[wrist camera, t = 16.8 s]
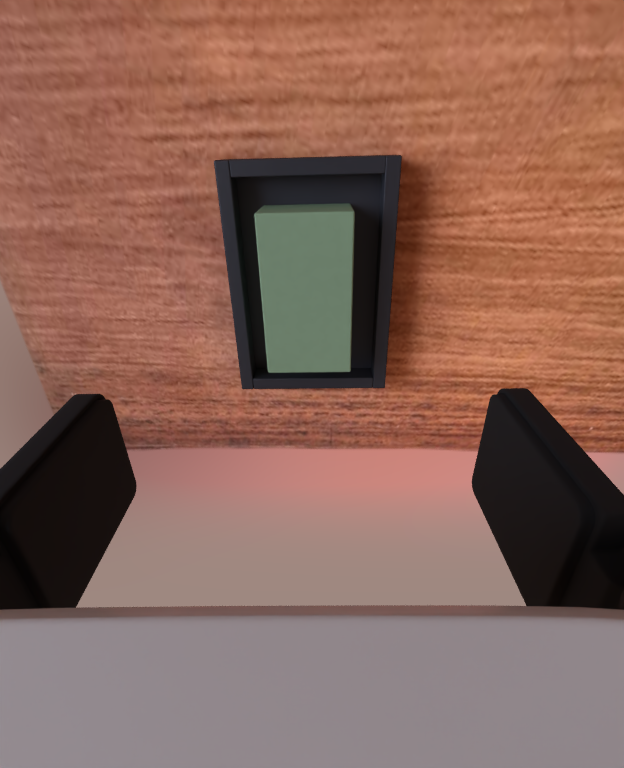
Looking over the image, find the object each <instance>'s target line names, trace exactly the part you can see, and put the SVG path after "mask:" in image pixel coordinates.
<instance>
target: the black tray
mask: <svg viewBox="0 0 624 768" xmlns="http://www.w3.org/2000/svg"><path fill="white" fill-rule="evenodd" d="M401 160H402V156H401V155H375V156H338V157H301V158H263V159H226V160H215V161H214V166H215V174H216V182H217V190H218V198H219V206H220V214H221V222H222V230H223V238H224V247H225V255H226V263H227V271H228V279H229V287H230V295H231V303H232V311H233V319H234V327H235V335H236V343H237V351H238V359H239V367H240V375H241V383H242V389H253V388H254V389H299V388H372V387H373V388H385V378H386V364H387V351H388V337H389V323H390V310H391V296H392V282H393V269H394V255H395V242H396V228H397V214H398V201H399V187H400V173H401ZM342 203H350V204H351V206H352V208H353V210H354V212H355V222H354V261H353V300H352V339H351V371H350V372H291V373H269V372H268V367H267V356H266V344H265V333H264V321H263V310H262V298H261V287H260V275H259V263H258V252H257V240H256V229H255V217H254V214H255V213H256V212H257V211H258V210H259V209H260V208H261V207H262V206H264V205H298V204H342Z"/></svg>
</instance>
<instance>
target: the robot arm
mask: <svg viewBox="0 0 624 768" xmlns="http://www.w3.org/2000/svg"><path fill="white" fill-rule="evenodd" d="M472 488H473V492H474V494H475V496H476V499H477V500H478V503H479V505H480V507H481V509H482V511H483V514H484V516H485V518H486V520H487V522H488V524H489V526H490V529H491V531H492V533H493V535H494V537H495V539H496V541H497V543H498V546H499V548H500V550H501V552H502V554H503V556H504V558H505V560H506V563H507V565H508V567H509V569H510V571H511V573H512V576H513V578H514V580H515V582H516V584H517V586H518V588H519V591H520V593H521V595H522V597H523V599H524V601H525V603H526V606H203V607H202V606H200V607H199V606H196V607H195V606H193V607H192V606H191V607H105V608H104V607H103V608H102V607H99V608H76V606H77V604H78V602H79V600H80V598H81V597H82V595H83V593H84V591H85V589H86V587H87V585H88V583H89V581H90V579H91V578H92V576H93V574H94V572H95V570H96V568H97V566H98V564H99V562H100V560H101V559H102V557H103V555H104V553H105V551H106V549H107V547H108V545H109V543H110V541H111V540H112V538H113V536H114V534H115V532H116V530H117V528H118V526H119V524H120V523H121V521H122V519H123V517H124V515H125V513H126V511H127V509H128V507H129V505H130V504H131V502H132V500H133V498H134V496H135V492H136V480H135V477H134V474H133V470H132V467H131V464H130V460H129V457H128V454H127V450H126V447H125V444H124V440H123V437H122V434H121V430H120V427H119V424H118V421H117V417H116V414H115V411H114V407H113V404H112V402H111V401H110V400H106V399H105V398H104V396H103V395H101V394H77V395H74V396H73V397H72V398H71V399H70V400H69V401H68V402H67V403H66V404H65V405H64V406H63V407H62V408H61V409H60V410H59V411H58V412H57V413H56V414H55V415H54V416H53V417H52V418H51V419H50V420H49V421H48V422H47V423H46V424H45V425H44V426H43V427H42V428H41V429H40V430H39V431H38V432H37V433H36V434H35V435H34V436H33V437H32V438H31V439H30V440H29V441H28V442H27V443H26V444H25V445H24V446H23V447H22V448H21V449H20V450H19V451H18V452H17V453H16V454H15V455H14V456H13V457H12V458H11V459H10V460H9V461H8V462H7V463H6V464H5V465H4V466H3V467H2V468H1V469H0V768H624V495H623V494H622V493H621V492H620V490H619V489H617V487H616V486H615V485H614V484H613V483H612V482H611V480H610V479H609V478H608V477H607V476H606V475H605V474H604V473H603V472H602V470H601V469H600V468H598V466H597V465H596V464H595V463H594V462H593V461H592V459H591V458H590V457H589V456H588V455H587V454H586V453H585V452H584V451H583V449H582V448H581V447H580V446H579V445H578V444H577V443H576V442H575V441H574V439H573V438H572V437H571V436H570V435H569V434H568V433H567V432H566V431H565V429H564V428H563V427H562V426H561V425H560V424H559V423H558V422H557V421H556V420H555V418H554V417H553V416H552V415H551V414H550V413H549V412H548V411H547V410H546V408H545V407H544V406H543V405H542V404H541V403H540V402H539V401H538V400H537V398H536V397H535V396H534V395H533V394H532V393H531V392H530V391H529V390H528V389H525V388H513V389H501V390H499V392H498V394H497V395H492V396H491V398H490V401H489V406H488V410H487V415H486V419H485V424H484V428H483V433H482V437H481V441H480V446H479V450H478V455H477V459H476V464H475V468H474V473H473V477H472Z"/></svg>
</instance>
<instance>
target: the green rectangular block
mask: <svg viewBox="0 0 624 768" xmlns="http://www.w3.org/2000/svg"><path fill="white" fill-rule="evenodd" d="M254 217H255V229H256V240H257V252H258V263H259V275H260V287H261V298H262V310H263V321H264V333H265V344H266V356H267V367H268V372H269V373H291V372H350V371H351V339H352V300H353V261H354V222H355V212H354V210H353V208H352V206H351V204H350V203H342V204H298V205H264V206H262V207H261V208H260V209H259V210H258V211H257V212H256V213H255V214H254Z"/></svg>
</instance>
